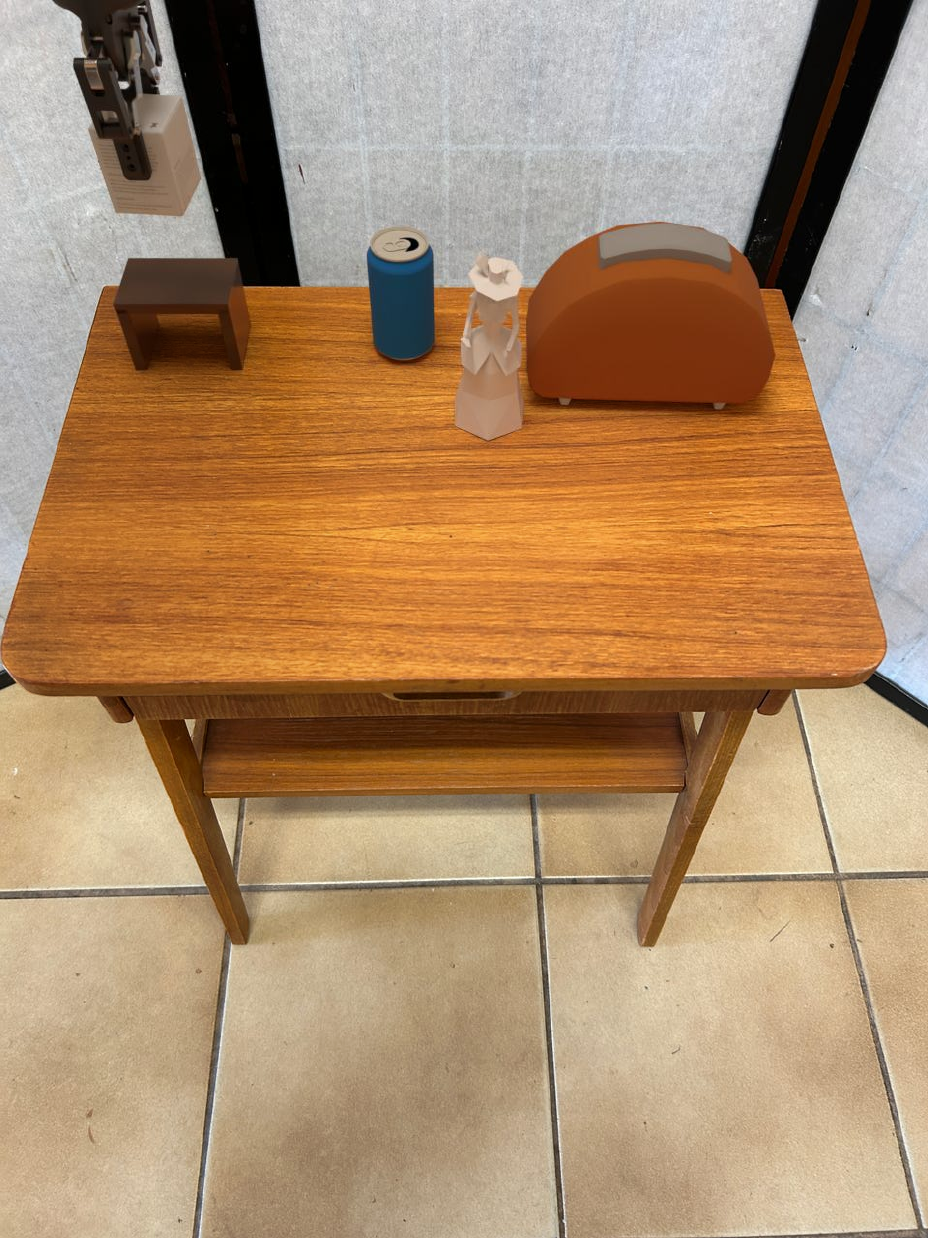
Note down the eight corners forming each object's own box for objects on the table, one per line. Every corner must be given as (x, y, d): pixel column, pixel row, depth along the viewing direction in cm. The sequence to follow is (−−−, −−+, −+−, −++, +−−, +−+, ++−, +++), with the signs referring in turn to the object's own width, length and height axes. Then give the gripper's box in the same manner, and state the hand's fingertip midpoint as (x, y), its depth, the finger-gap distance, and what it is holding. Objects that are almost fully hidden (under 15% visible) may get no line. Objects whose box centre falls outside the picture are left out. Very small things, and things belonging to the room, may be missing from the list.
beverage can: (442, 358, 99) (441, 255, 90) (382, 370, 98) (375, 267, 88) (425, 320, 103) (422, 218, 93) (367, 331, 102) (358, 229, 92)
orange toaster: (745, 356, 100) (792, 208, 86) (758, 415, 95) (809, 267, 81) (523, 350, 100) (534, 201, 87) (523, 408, 95) (535, 260, 81)
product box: (203, 179, 83) (184, 93, 77) (183, 219, 80) (161, 132, 74) (135, 175, 84) (111, 89, 78) (113, 214, 80) (85, 127, 74)
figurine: (455, 442, 92) (456, 280, 78) (453, 386, 97) (453, 223, 82) (528, 440, 92) (542, 279, 78) (521, 384, 97) (534, 222, 82)
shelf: (242, 369, 98) (227, 303, 92) (135, 370, 98) (112, 303, 91) (251, 323, 102) (237, 257, 96) (148, 323, 102) (127, 257, 96)
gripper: (114, -39, 61) (177, 204, 75) (157, -121, 69) (207, 111, 83) (-3, -40, 61) (82, 203, 75) (54, -122, 69) (121, 110, 83)
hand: (147, 154), depth 79 cm, fingers closed on product box, 6 cm apart
